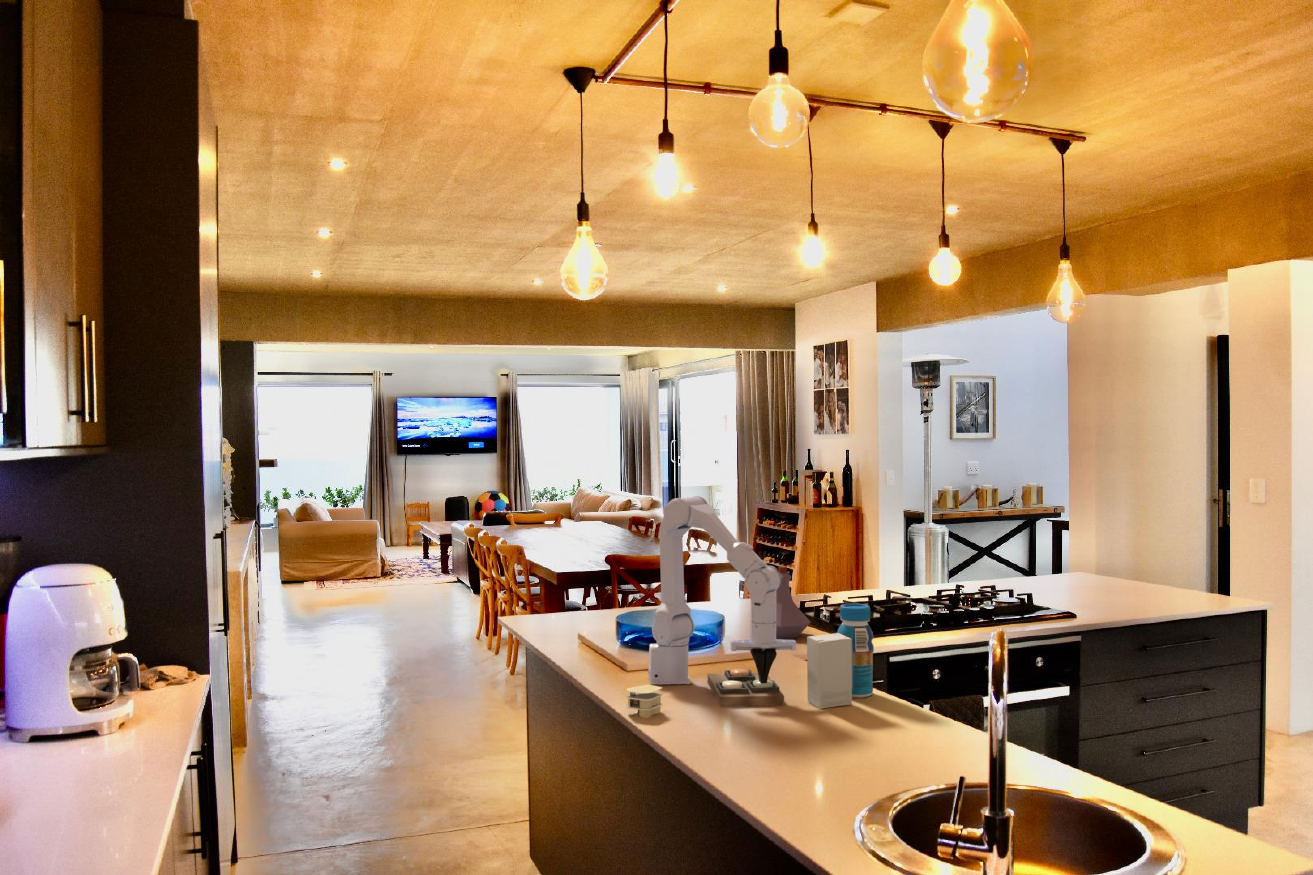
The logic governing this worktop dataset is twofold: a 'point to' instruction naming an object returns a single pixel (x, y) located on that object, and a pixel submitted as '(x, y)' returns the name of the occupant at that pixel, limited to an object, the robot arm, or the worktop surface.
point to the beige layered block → (645, 700)
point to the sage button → (762, 684)
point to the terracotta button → (739, 672)
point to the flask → (788, 610)
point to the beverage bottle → (859, 646)
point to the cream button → (731, 684)
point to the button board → (744, 691)
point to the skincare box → (829, 670)
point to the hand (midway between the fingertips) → (763, 682)
